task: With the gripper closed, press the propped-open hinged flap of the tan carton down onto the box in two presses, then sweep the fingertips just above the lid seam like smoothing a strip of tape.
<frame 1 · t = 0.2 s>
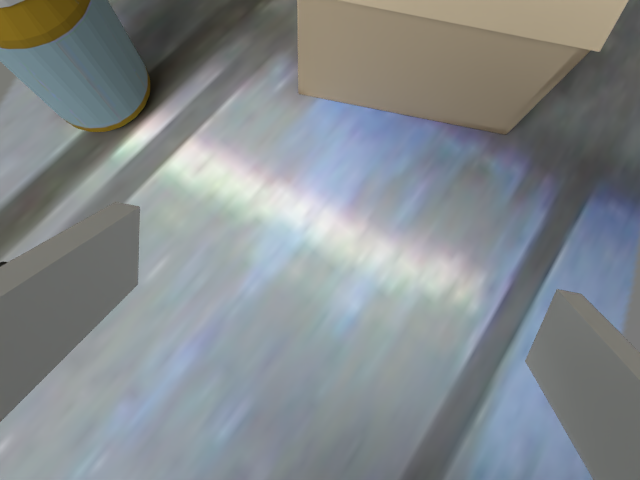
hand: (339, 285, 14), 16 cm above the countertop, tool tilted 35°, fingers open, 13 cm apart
bottle: (106, 94, 33), on the countertop
carton: (415, 35, 35), on the countertop
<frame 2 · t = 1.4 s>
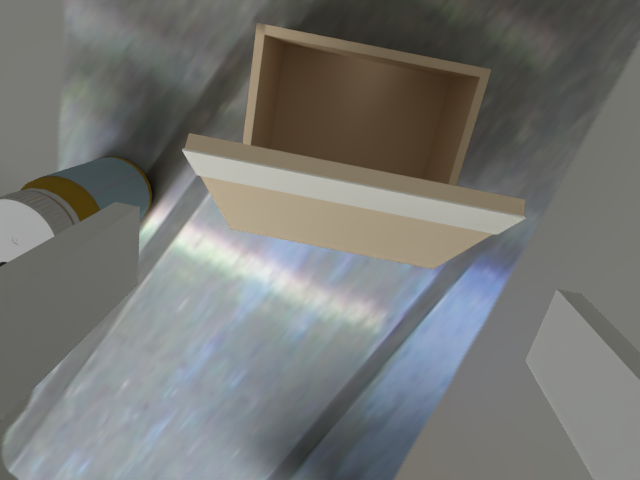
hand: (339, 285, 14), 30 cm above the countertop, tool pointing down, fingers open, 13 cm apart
bottle: (122, 189, 45), on the countertop
carton: (352, 133, 41), on the countertop
flap: (341, 218, 27), point 16 cm above the countertop, hinge at 55.0°
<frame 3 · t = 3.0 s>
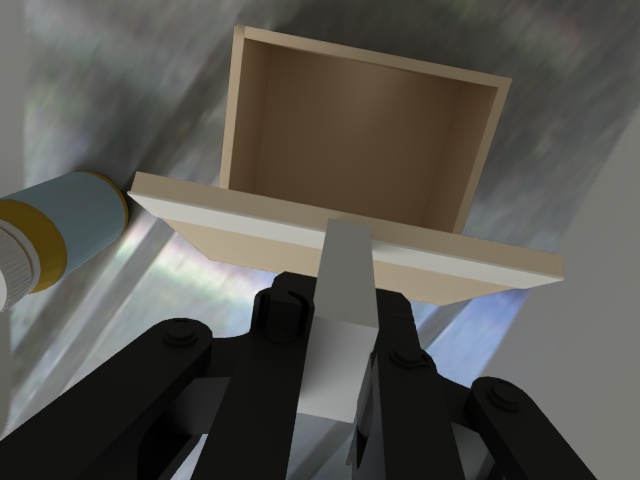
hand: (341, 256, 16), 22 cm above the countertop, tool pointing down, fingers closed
bottle: (96, 205, 41), on the countertop
carton: (350, 145, 37), on the countertop
flap: (333, 259, 23), point 16 cm above the countertop, hinge at 55.0°, touching gripper
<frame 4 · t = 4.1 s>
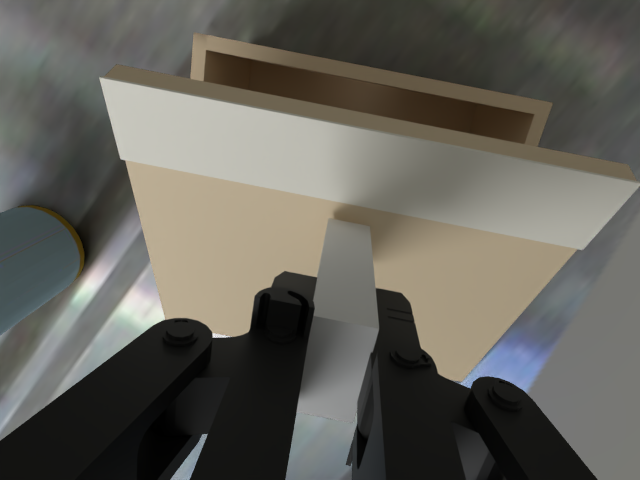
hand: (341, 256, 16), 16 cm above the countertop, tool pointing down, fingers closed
bottle: (47, 244, 35), on the countertop
carton: (344, 176, 31), on the countertop
flap: (335, 266, 18), point 14 cm above the countertop, hinge at 27.2°, touching gripper
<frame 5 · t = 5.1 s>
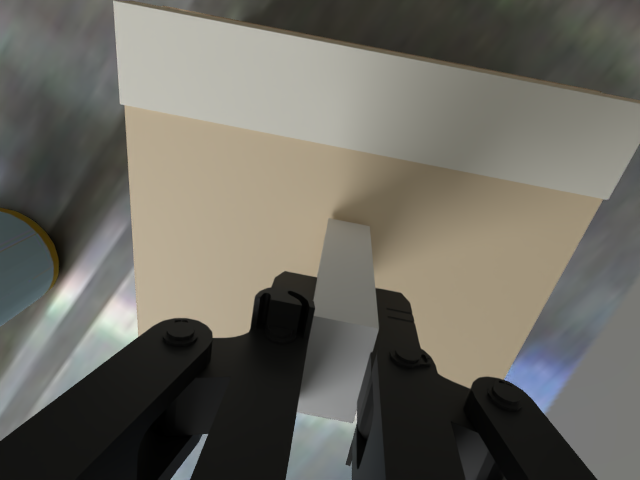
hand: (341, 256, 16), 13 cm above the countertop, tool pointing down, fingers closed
bottle: (19, 250, 31), on the countertop
carton: (346, 175, 27), on the countertop
flap: (341, 247, 17), point 12 cm above the countertop, hinge at 8.8°, touching gripper
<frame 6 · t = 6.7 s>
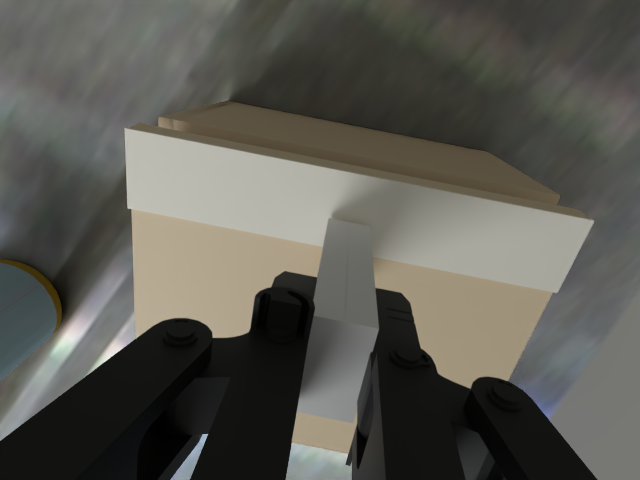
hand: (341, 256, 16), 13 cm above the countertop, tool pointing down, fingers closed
bottle: (23, 297, 33), on the countertop
carton: (335, 232, 29), on the countertop
flap: (324, 327, 18), point 11 cm above the countertop, hinge at 5.8°, touching gripper
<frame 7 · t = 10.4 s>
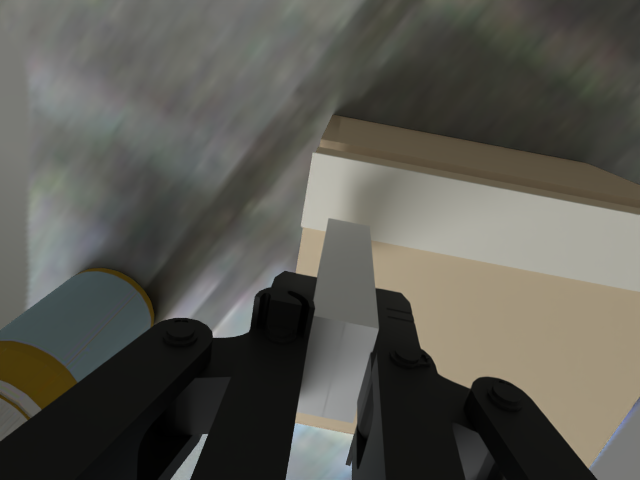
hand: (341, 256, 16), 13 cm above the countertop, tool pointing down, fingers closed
bottle: (114, 304, 34), on the countertop
carton: (429, 241, 30), on the countertop
flap: (469, 337, 19), point 11 cm above the countertop, hinge at 5.2°
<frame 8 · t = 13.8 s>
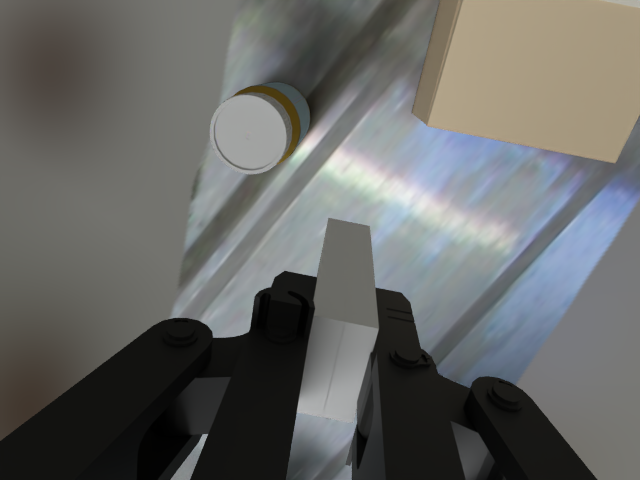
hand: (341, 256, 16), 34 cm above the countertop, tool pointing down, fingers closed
bottle: (279, 115, 48), on the countertop
carton: (507, 57, 44), on the countertop
flap: (554, 55, 34), point 11 cm above the countertop, hinge at 5.2°
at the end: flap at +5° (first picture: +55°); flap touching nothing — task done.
